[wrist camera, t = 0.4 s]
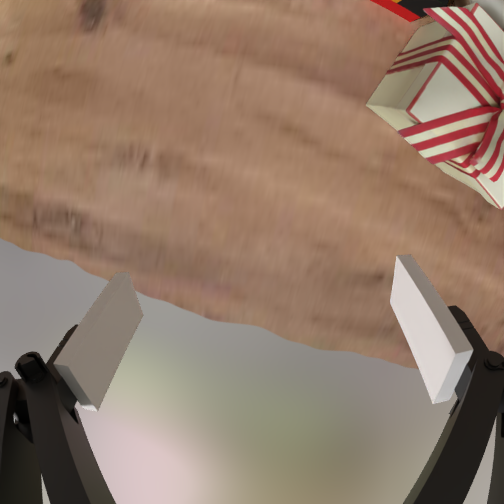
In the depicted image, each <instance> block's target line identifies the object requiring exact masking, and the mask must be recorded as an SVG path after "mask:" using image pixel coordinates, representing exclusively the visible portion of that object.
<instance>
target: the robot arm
mask: <svg viewBox="0 0 504 504" xmlns="http://www.w3.org/2000/svg"><path fill="white" fill-rule="evenodd" d="M390 304H391V306H392V308H393V310H394V312H395V315H396V317H397V319H398V321H399V323H400V325H401V328H402V330H403V332H404V334H405V337H406V339H407V341H408V344H409V346H410V348H411V351H412V353H413V355H414V358H415V360H416V363H417V365H418V367H419V370H420V372H421V375H422V377H423V380H424V382H425V385H426V388H427V390H428V393H429V395H430V398H431V400H432V403H433V404H435V403H439V402H443V401H448V400H450V398H451V396H452V394H453V392H454V390H455V392H456V395H457V397H458V399H457V400H456V402H455V404H454V406H453V408H452V409H451V411H450V413H449V414H450V417H449V419H448V421H447V423H446V425H445V428H444V430H443V432H442V434H441V436H440V438H439V440H438V442H437V444H436V446H435V448H434V451H433V452H432V454H431V456H430V458H429V460H428V462H427V464H426V465H425V467H424V469H423V471H422V473H421V474H420V476H419V478H418V480H417V482H416V483H415V485H414V487H413V488H412V490H411V491H410V493H409V495H408V496H407V498H406V499H405V501H404V503H403V504H463V502H464V500H465V498H466V496H467V494H468V491H469V489H470V487H471V485H472V482H473V480H474V478H475V475H476V473H477V470H478V468H479V465H480V463H481V460H482V457H483V455H484V452H485V449H486V446H487V443H488V441H489V438H490V435H491V431H492V428H493V425H494V421H495V418H496V415H497V419H496V438H495V450H494V461H493V469H492V476H491V484H490V490H489V495H488V501H487V504H504V357H503V356H502V355H501V354H499V353H497V352H494V351H489V350H488V348H487V347H486V345H485V343H484V342H483V340H482V339H481V337H480V335H479V334H478V332H477V331H476V329H475V328H474V326H473V325H472V323H471V322H470V320H469V319H468V317H467V316H466V314H465V313H464V312H463V311H462V310H461V309H459V308H458V307H457V306H448V307H447V306H446V304H445V303H444V301H443V300H442V298H441V297H440V295H439V294H438V292H437V291H436V289H435V288H434V286H433V285H432V284H431V282H430V281H429V279H428V278H427V276H426V275H425V273H424V272H423V271H422V269H421V268H420V266H419V265H418V264H417V262H416V261H415V260H414V258H413V257H412V256H411V254H410V255H397V256H396V264H395V272H394V279H393V286H392V293H391V299H390ZM142 317H143V313H142V310H141V307H140V304H139V302H138V298H137V295H136V292H135V289H134V286H133V283H132V280H131V277H130V274H129V272H120V273H116V274H115V275H114V276H113V278H112V279H111V280H110V282H109V283H108V284H107V286H106V287H105V289H104V290H103V291H102V293H101V294H100V295H99V297H98V298H97V300H96V301H95V302H94V304H93V305H92V307H91V308H90V310H89V311H88V312H87V314H86V315H85V317H84V318H83V319H82V321H81V322H80V324H79V325H75V326H74V327H72V328H71V329H70V330H69V331H68V332H67V333H66V335H65V336H64V338H63V340H62V341H61V342H60V343H59V347H57V348H56V350H55V351H54V353H53V354H52V356H51V357H50V359H49V360H48V362H47V363H46V364H45V363H44V361H43V359H42V358H41V356H40V354H39V353H37V352H28V353H26V354H24V355H22V356H21V357H20V358H19V359H18V360H17V362H16V364H15V369H16V371H17V372H18V374H19V375H20V377H21V378H22V379H15V378H14V377H13V375H12V374H11V373H10V372H8V371H4V372H1V373H0V504H43V499H42V482H41V474H42V477H43V481H44V484H45V487H46V491H47V494H48V497H49V501H50V504H116V503H115V501H114V499H113V497H112V495H111V493H110V491H109V489H108V486H107V484H106V482H105V480H104V478H103V475H102V473H101V471H100V469H99V466H98V464H97V462H96V459H95V457H94V455H93V452H92V449H91V447H90V444H89V442H88V439H87V436H86V434H85V431H84V428H83V426H82V422H81V420H80V417H79V414H78V411H77V409H76V408H75V404H76V402H77V400H78V402H79V403H80V404H81V406H82V407H83V409H88V410H93V411H98V410H99V408H100V405H101V403H102V401H103V398H104V396H105V394H106V392H107V389H108V388H109V385H110V383H111V381H112V379H113V377H114V375H115V372H116V370H117V368H118V366H119V364H120V362H121V360H122V357H123V355H124V353H125V351H126V349H127V347H128V345H129V343H130V341H131V339H132V337H133V335H134V333H135V331H136V329H137V327H138V325H139V323H140V321H141V319H142ZM14 418H15V423H14Z"/></svg>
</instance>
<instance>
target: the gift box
mask: <svg viewBox="0 0 504 504" xmlns="http://www.w3.org/2000/svg"><path fill="white" fill-rule="evenodd" d="M423 10H424V11H425V12H426V13H427V14H428V15H429V16H431V17H432V18H433V19H434V20H436V21H435V22H432V23H430V24H427V25H425V26H422V27H420V28H418V29H417V31H416V32H415V33H414V35H413V36H412V38H411V39H410V41H409V42H408V43H407V45H406V46H405V48H404V49H403V51H402V52H401V53H399V55H398V56H397V58H396V60H395V62H394V64H393V66H392V67H391V68H390V69H389V70H388V71H387V73H386V75H385V77H384V78H383V80H382V81H381V82H380V84H379V85H378V87H377V88H376V90H375V91H374V93H373V94H372V96H371V97H370V99H369V100H368V102H367V103H366V106H367V107H369V108H370V109H371V110H372V111H374V112H375V113H376V114H377V115H379V116H380V117H381V118H382V119H384V120H385V121H386V122H387V123H388V124H390V125H391V126H392V127H393V128H394V129H396V130H397V132H398V133H399V134H400V135H401V136H402V137H403V138H404V139H405V140H407V141H408V143H409V144H410V145H411V146H413V147H414V148H415V149H416V150H417V151H418V152H419V153H420V154H421V155H422V156H423V157H424V158H425V159H427V161H429V162H430V163H432V164H435V165H436V166H437V167H438V168H440V169H441V170H442V171H443V172H444V173H446V174H448V175H450V176H452V177H454V178H455V179H457V180H459V181H461V182H462V183H464V184H466V185H467V186H469V187H471V188H473V189H474V190H476V191H477V192H479V193H481V194H482V196H483V197H484V198H485V199H486V200H487V201H488V202H489V203H491V204H492V205H494V206H495V207H497V208H498V209H500V210H503V208H504V31H503V30H502V28H501V27H500V26H499V25H498V24H497V23H496V22H495V21H494V20H493V19H492V18H491V17H490V15H489V14H488V13H487V12H486V11H485V10H484V9H483V8H482V7H481V6H480V5H479V4H478V3H473V4H470V5H467V6H464V7H436V8H424V9H423Z"/></svg>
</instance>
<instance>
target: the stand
mask: <svg viewBox="0 0 504 504" xmlns="http://www.w3.org/2000/svg"><path fill="white" fill-rule="evenodd" d="M473 3H478V4H479V5H480V6H481V7H482V8H483V9H484V10H485V11H486V12H487V13H488V14H489V15H490V17H491V18H492V19H493V20H494V21H495V22H496V23H497V24H498V25H499V26H500V27H501V28H502V30H503V31H504V0H454V5H455V7H464V6H467V5H470V4H473Z"/></svg>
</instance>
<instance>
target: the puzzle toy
mask: <svg viewBox="0 0 504 504" xmlns="http://www.w3.org/2000/svg"><path fill="white" fill-rule="evenodd" d="M371 1H373V2H375V3H377V4H379V5H381V6H382V7H384V8H386V9H388V10H390V11H392V12H394V13H395V14H397V15H399V16H401V17H402V18H404V19H406V20H408V21H409V22H412V21H414V20H416V19H418V18H421V17H423V16H425V15H428V14H427V13H426V12H425V11H424V10H423V9H424V8H436V7H447V4H448V1H449V0H371Z"/></svg>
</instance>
